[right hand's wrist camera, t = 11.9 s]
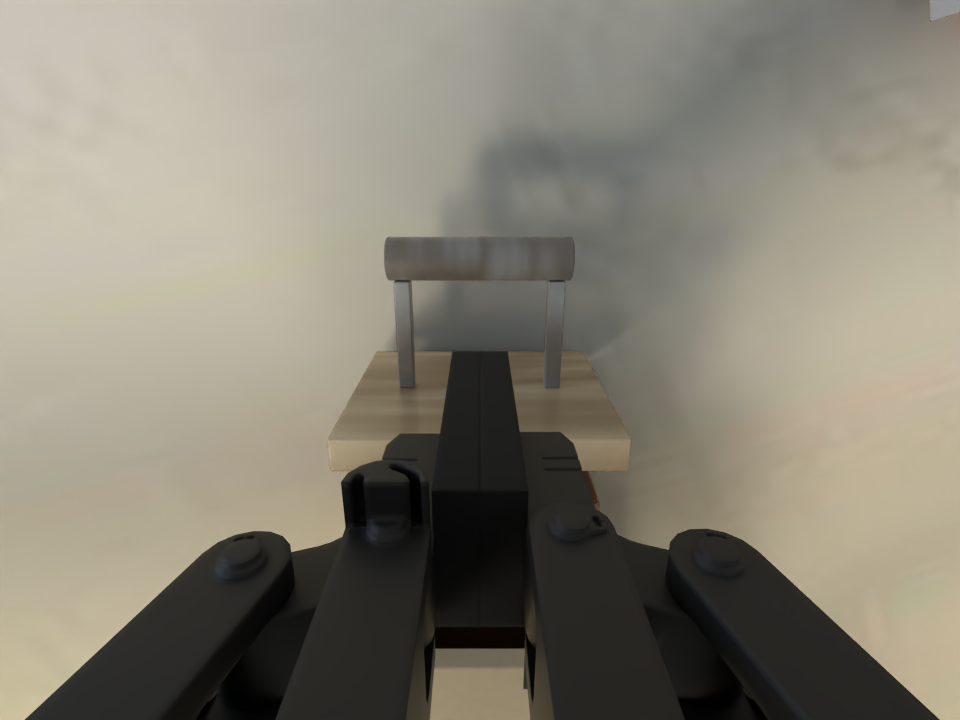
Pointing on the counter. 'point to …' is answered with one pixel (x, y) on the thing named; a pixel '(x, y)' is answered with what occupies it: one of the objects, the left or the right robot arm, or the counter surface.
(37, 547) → the counter surface
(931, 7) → the toy
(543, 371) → the drawer
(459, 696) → the cabinet
